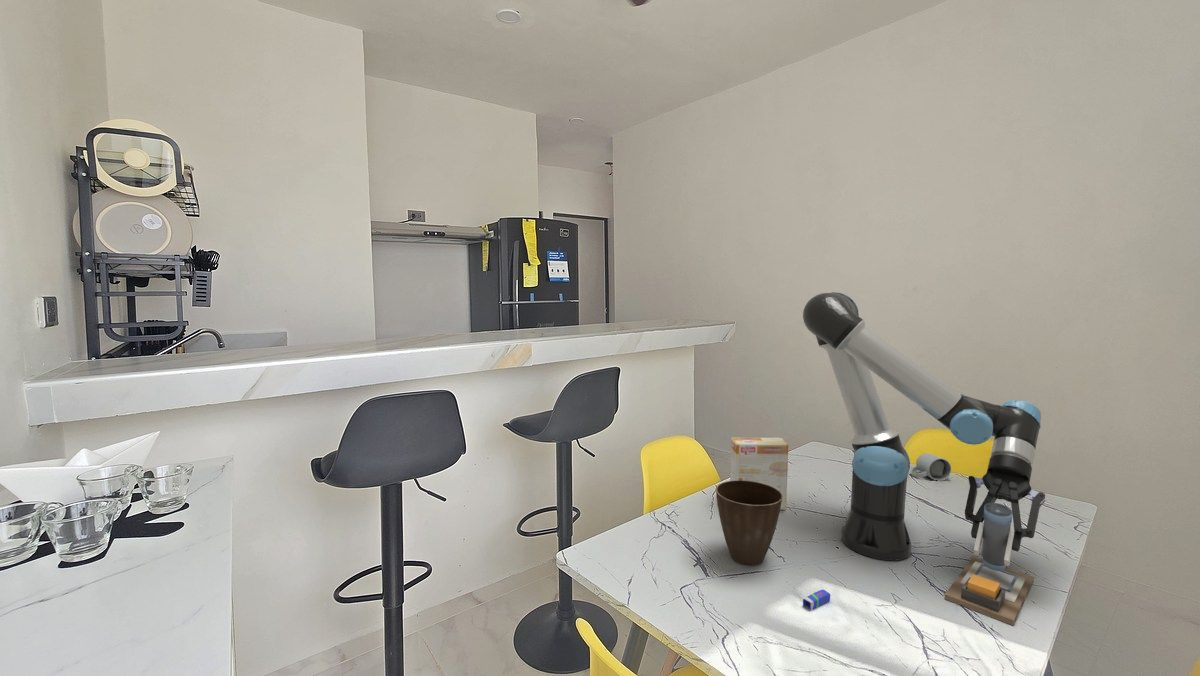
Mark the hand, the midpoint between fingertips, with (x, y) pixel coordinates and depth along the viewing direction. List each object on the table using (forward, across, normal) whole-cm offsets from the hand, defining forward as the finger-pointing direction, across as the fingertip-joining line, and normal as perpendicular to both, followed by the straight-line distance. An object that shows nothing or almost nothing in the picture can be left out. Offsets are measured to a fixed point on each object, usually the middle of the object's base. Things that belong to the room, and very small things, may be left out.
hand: (991, 557), depth 104 cm
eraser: (+27, +24, +14) cm, 39 cm away
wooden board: (+4, 0, -7) cm, 8 cm away
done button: (+7, 0, 0) cm, 7 cm away
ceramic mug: (-42, +25, -54) cm, 73 cm away
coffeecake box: (+3, +55, -11) cm, 56 cm away
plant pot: (+23, +42, +10) cm, 49 cm away
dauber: (-2, 0, -7) cm, 8 cm away
